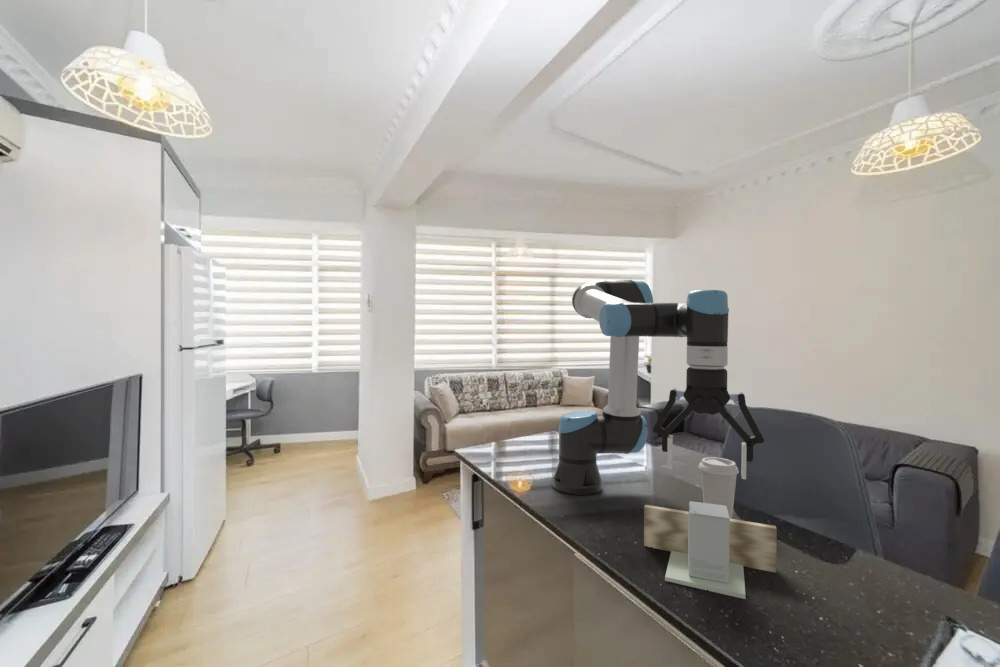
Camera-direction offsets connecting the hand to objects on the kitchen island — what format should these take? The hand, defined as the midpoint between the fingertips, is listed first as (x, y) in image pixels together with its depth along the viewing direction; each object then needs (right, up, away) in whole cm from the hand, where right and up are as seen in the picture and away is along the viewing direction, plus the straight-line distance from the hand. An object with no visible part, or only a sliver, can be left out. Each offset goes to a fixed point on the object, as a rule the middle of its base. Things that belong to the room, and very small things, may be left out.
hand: (705, 472), depth 93 cm
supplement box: (0, -20, 0) cm, 20 cm away
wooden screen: (+3, -21, +7) cm, 22 cm away
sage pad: (0, -21, 0) cm, 21 cm away
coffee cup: (+16, -21, +28) cm, 38 cm away
